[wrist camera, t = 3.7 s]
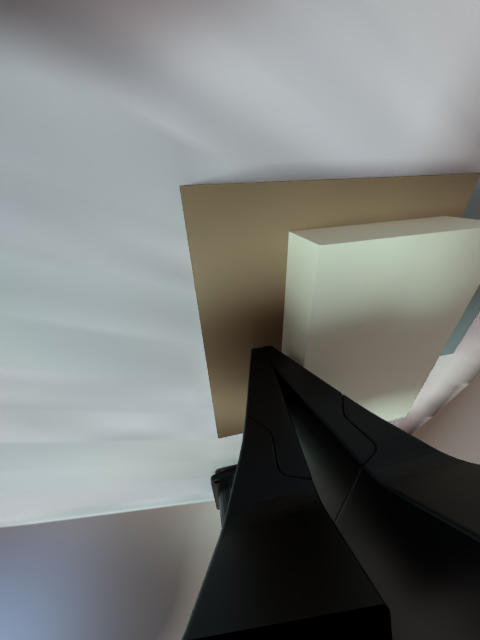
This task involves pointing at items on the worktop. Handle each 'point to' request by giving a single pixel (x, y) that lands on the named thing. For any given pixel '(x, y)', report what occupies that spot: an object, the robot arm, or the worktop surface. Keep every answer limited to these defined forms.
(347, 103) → the worktop surface
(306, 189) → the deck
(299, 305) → the rectangular block
